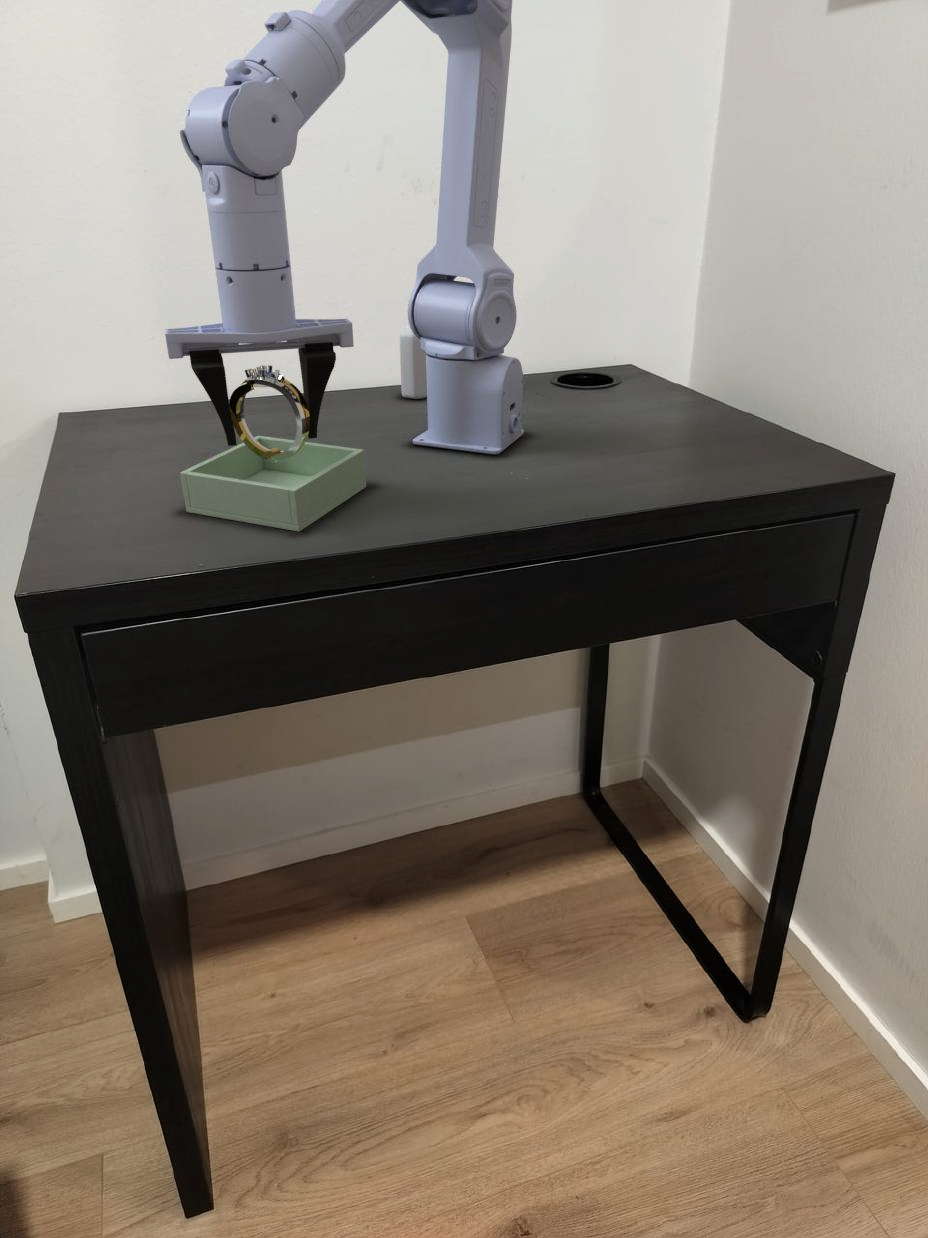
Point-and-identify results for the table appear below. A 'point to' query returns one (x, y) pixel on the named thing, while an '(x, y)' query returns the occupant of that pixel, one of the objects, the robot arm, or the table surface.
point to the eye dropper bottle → (412, 366)
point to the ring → (292, 395)
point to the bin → (274, 484)
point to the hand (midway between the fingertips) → (272, 438)
